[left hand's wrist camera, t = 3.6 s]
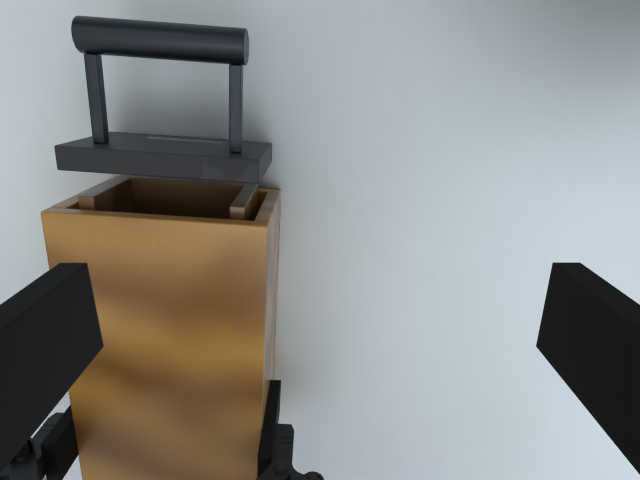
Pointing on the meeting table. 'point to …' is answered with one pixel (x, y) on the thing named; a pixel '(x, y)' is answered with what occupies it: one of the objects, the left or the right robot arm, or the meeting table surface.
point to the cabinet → (173, 339)
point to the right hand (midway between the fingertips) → (190, 391)
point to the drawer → (166, 151)
